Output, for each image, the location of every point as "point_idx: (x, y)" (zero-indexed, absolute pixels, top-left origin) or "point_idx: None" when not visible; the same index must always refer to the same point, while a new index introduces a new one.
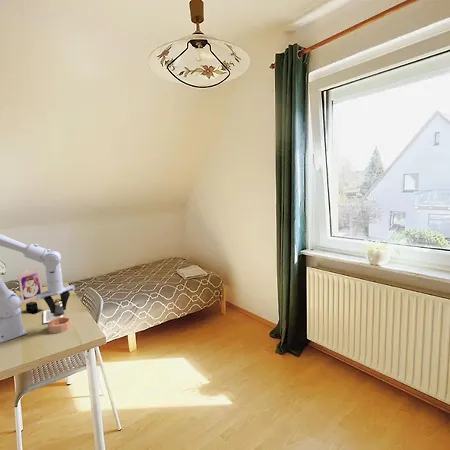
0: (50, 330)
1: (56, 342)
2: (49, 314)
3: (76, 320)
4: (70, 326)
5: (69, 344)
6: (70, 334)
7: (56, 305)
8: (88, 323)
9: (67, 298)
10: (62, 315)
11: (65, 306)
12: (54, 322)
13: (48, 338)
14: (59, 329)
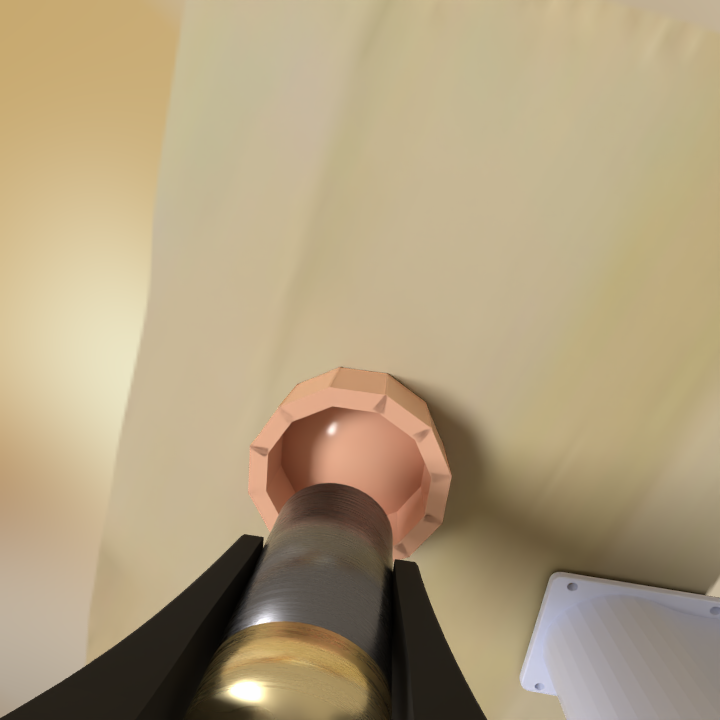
0: (443, 449)
1: (514, 224)
2: None
3: (209, 463)
4: (296, 387)
5: (473, 64)
6: (362, 263)
7: (355, 644)
8: (166, 326)
9: (68, 692)
10: None
11: (222, 563)
12: None
13: (507, 360)
14: (396, 390)
